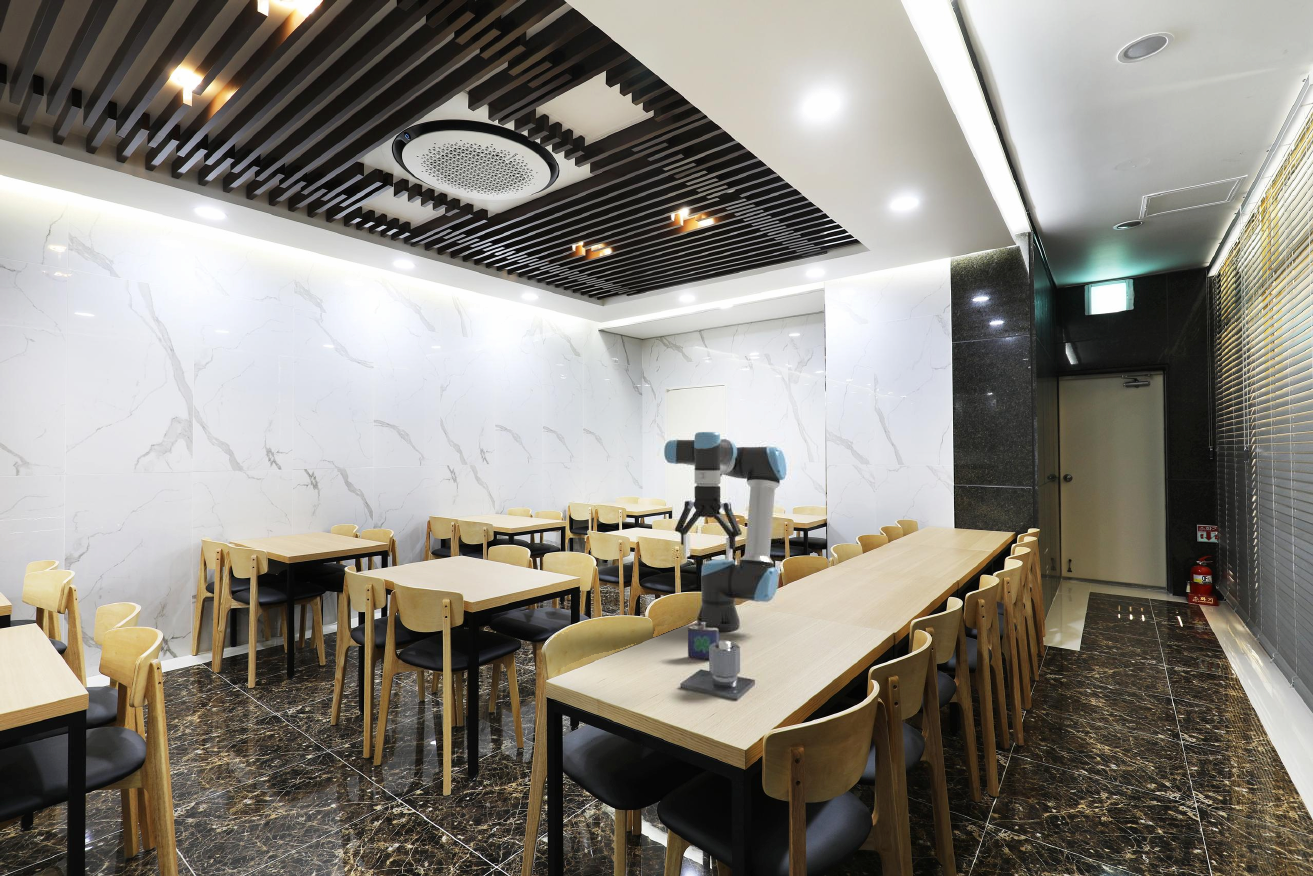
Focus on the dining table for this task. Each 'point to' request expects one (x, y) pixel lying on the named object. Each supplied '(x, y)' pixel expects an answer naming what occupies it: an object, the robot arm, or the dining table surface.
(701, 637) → the flask
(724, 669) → the tube
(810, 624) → the dining table surface
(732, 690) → the shaft fixture
